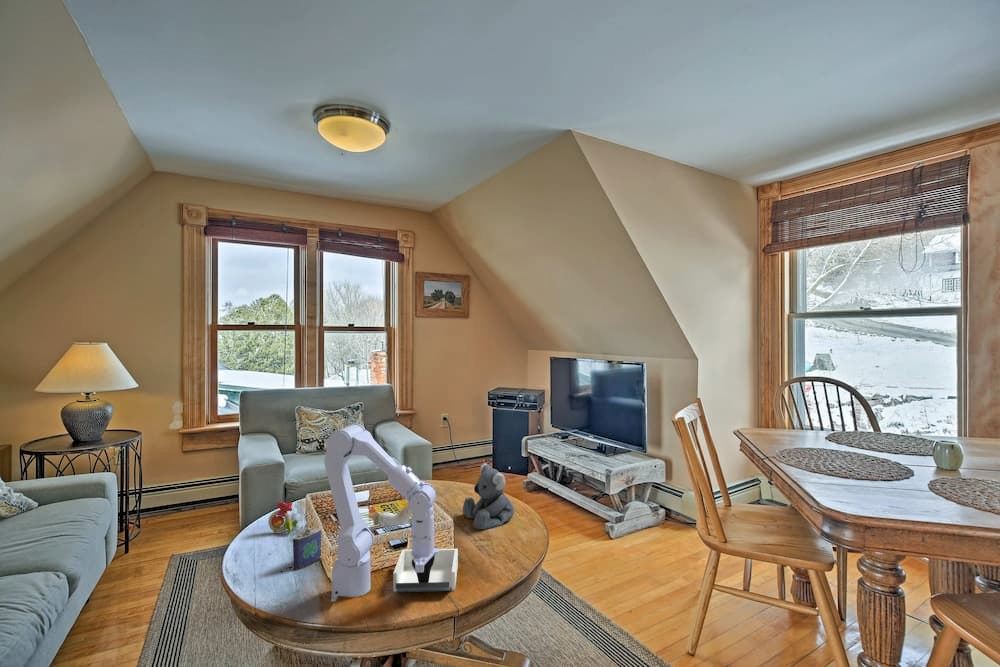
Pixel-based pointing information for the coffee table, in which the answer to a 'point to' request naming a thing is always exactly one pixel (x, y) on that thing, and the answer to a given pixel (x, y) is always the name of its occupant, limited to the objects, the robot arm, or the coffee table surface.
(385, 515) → the unicorn figurine
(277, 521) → the bird rattle
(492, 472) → the koala plush
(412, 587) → the door panel
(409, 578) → the white cubby shelf
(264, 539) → the coffee table surface
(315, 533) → the flask
